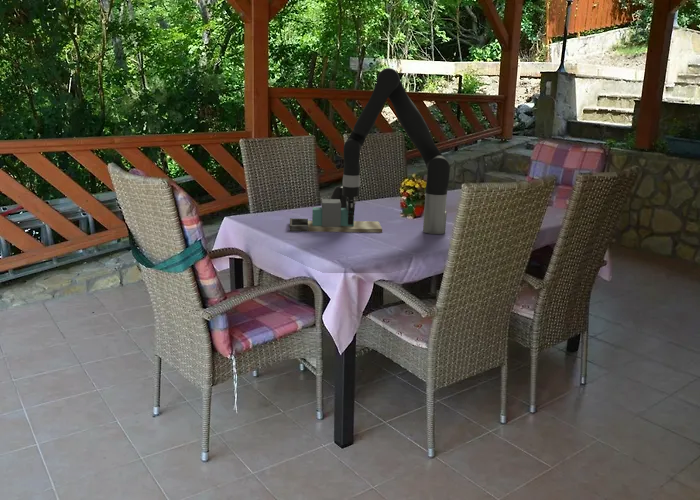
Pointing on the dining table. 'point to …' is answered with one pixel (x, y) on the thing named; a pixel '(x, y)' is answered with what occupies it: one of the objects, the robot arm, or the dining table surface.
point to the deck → (358, 227)
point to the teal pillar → (318, 217)
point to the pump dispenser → (339, 196)
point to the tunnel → (331, 213)
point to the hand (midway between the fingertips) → (349, 222)
